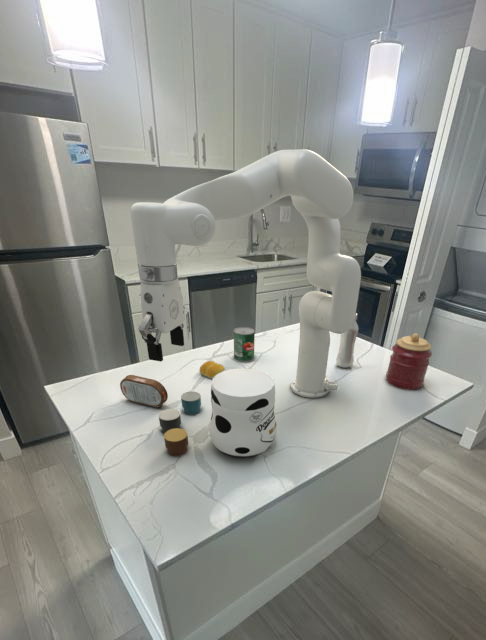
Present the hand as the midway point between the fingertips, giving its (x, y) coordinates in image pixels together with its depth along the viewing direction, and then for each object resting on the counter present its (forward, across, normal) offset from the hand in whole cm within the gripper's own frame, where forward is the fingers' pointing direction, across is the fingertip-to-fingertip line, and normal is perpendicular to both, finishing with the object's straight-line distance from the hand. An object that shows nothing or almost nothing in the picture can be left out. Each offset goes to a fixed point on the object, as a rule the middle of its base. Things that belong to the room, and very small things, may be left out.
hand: (167, 352), depth 86 cm
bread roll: (+24, +40, +7) cm, 47 cm away
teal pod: (+24, +15, +3) cm, 29 cm away
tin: (+25, +14, +18) cm, 33 cm away
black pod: (+24, +4, +4) cm, 25 cm away
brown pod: (+24, -4, -2) cm, 25 cm away
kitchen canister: (+24, +58, -58) cm, 85 cm away
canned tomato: (+24, +57, +2) cm, 62 cm away
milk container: (+24, +4, -17) cm, 30 cm away
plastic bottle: (+24, +63, -36) cm, 77 cm away
